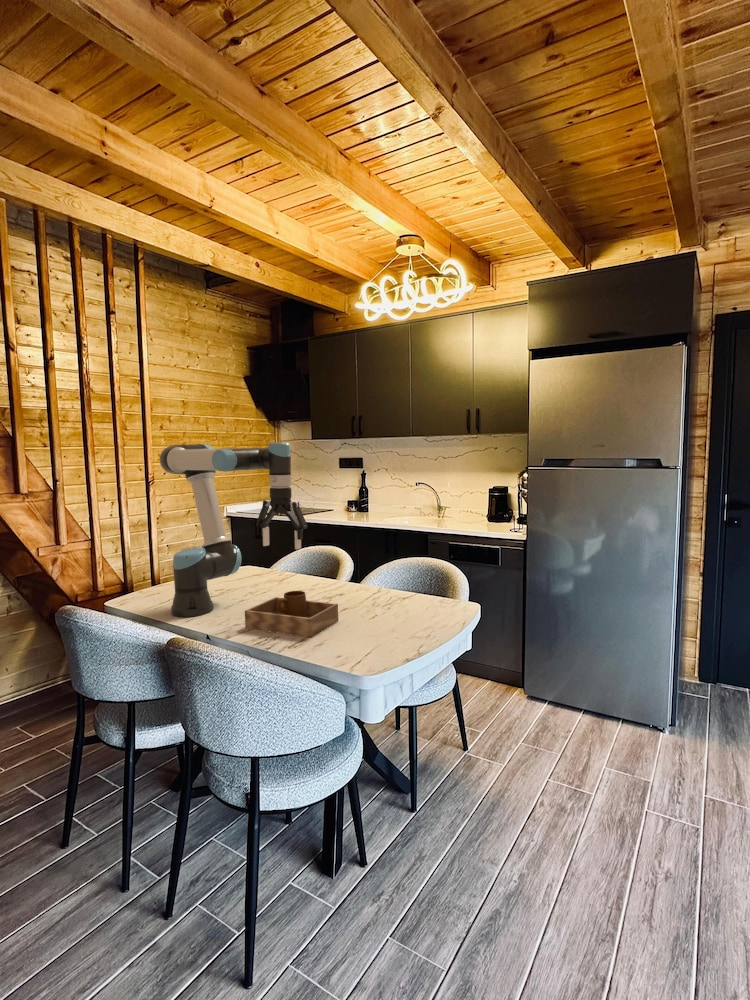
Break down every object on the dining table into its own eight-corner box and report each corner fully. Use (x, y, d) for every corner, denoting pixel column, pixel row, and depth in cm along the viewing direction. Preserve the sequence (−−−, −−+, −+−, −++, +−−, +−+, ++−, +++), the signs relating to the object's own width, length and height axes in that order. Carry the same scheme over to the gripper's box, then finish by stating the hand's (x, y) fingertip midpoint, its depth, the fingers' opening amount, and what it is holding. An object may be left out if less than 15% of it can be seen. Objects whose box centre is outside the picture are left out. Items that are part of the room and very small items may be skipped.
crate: (245, 628, 183) (244, 610, 182) (276, 613, 199) (275, 597, 198) (311, 637, 172) (310, 619, 171) (338, 620, 188) (337, 603, 188)
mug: (285, 628, 179) (283, 600, 178) (270, 624, 184) (268, 597, 183) (311, 619, 188) (310, 592, 187) (296, 615, 193) (295, 589, 192)
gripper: (244, 486, 190) (246, 546, 192) (304, 489, 179) (305, 552, 181) (258, 485, 197) (260, 542, 199) (316, 487, 186) (317, 548, 188)
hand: (281, 547), depth 190 cm, fingers open, 13 cm apart
